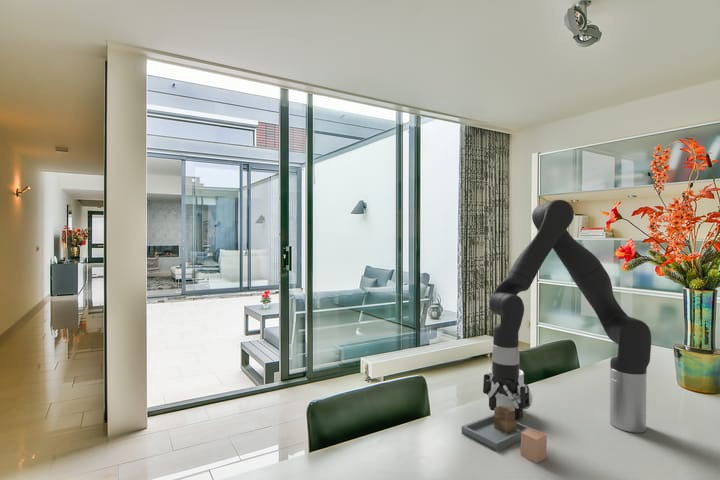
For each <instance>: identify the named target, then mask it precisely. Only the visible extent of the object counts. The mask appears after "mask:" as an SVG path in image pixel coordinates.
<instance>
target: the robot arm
mask: <svg viewBox="0 0 720 480" xmlns="http://www.w3.org/2000/svg"><path fill="white" fill-rule="evenodd" d="M574 216H575V213H574V208H573V206H572V205H571V204H570V203H569V202H568V201H566V200H564V199H554V200H550V201H548V202H545V203H542V204H539V205H537V206H535V208H534V209H533V210H532V214H531V219H532V223H533V225H534V226H535V228H536V229H537V233H536V235H535V236H534V237H533V239H532V240H531V241H530V242H529V243H528V245H526V247H525V248H524V249H523V250H522V251H521V253H520V254H519V255H518V257H517V258H516V259H515V261H514V263H513V265H512V266H511V268H510V270H509V271H508V274H507V276H506V277H505V278H504V279H503V280H502V281H501V282H500V284H499V285H498V286H497V287H496V288H494V291H492V294H491V295H490V297H489V301H488V303H489V304H488V305H489V310H490V311H491V312H492V313H494V314H495V315H498V316H501V321H500V323H497V324H496V325H494V328H493V338H492V339H493V341H492V343H493V346H492V352H491V354H492V356H491V359H492V360H491V361H492V362H491V364H492V366H491V367H492V374H493V375H492V374H491V373H489V372H488V373H486V374H483V384H482V385H483V386H482V393H483V394H486V395H487V397H488V408H489V409H490V411H494V408H495V407H496V397H495V396H496V395H497V394H498V392H499V393H500V394H504V395H505V396H509V398H510V400H511V401H513V403H514V405H515V420H516V421H517V422H519V421H521V420H523V416H524V410H523V408H526V407H529V406H530V403H529V389H530V387H529V385H527V384H525V386H522V385H519V383H518V378H519V369H520V349H519V332H520V329H521V326H522V322H523V318H524V315H525V305H524V301H523V300H522V298H521V297H520V296H519V295H518V294H519V293H521V292H526V291H528V290H529V289H530V288H531V286H532V284H533V282H534V280H535V278H536V276H537V275H538V272H539V271H540V269H541V267H542V264H543V263H544V261H545V260H546V258H547V257H548V255H549V254H550V252H551V251H552V250H553V251H554V252H555V254H556V255H557V258H558V259H559V261H561V263H562V265H563V266H564V267H565V269H566V270H567V271H568V274H569V275H570V277H571V279H572V280H573V282H574V284H575V285H576V286H577V288H578V289H579V290H580V292H581V294H583V297H584V298H585V299H586V300H587V302H588V303H589V305H590V307H591V308H592V310H593V311H594V313H595V314H596V316H597V318H598V320H599V322H600V324H601V326H602V328H603V330H604V333H605V334H606V335H607V337H608V339H610V340H611V341H612V342H613V343H615V344H617V345H618V347H617V355H615V356H613V357H611V358H610V363H609V365H610V367H609V377H610V378H609V381H610V382H609V385H610V387H609V424H610V425H611V426H613V427H615V429H616V428H617V429H619V430H620V431H626V432H627V433H628V432H630V433H636V434H637V433H645V432H646V430H647V372H648V371H647V370H648V366H649V364H650V362H651V361H650V360H651V350H652V332H651V329H650V327H649V326H648V325H647V323H646V322H645V321H643V320H640V319H637V318H634V317H631V316H629V315H628V314H627V313H626V312H625V311H624V310H623V308H622V306H620V304H619V302H618V301H617V299H616V297H615V295H614V291H613V285H612V280H611V277H610V275H609V273H608V272H607V269H605V266H604V265H603V264H602V263H601V261H600V260H599V258H597V256H596V255H595V254H594V253H592V252H591V251H590V250H589V249H588V248H587V247H584V246H583V245H582V244H580V243H579V242H578V241H577V240H576V239H575V238H574V237H573V236H572V234H570V233H569V230H567V229H568V228H569V227H570V226H571V224H572V222H573V220H574ZM492 381H493V383H494V387H493V388H492V389H491V386H492ZM518 389H519V392H518ZM519 393H520V394H519ZM514 394H515V396H513V395H514ZM530 407H531V406H530ZM530 407H529V408H530Z"/></svg>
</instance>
